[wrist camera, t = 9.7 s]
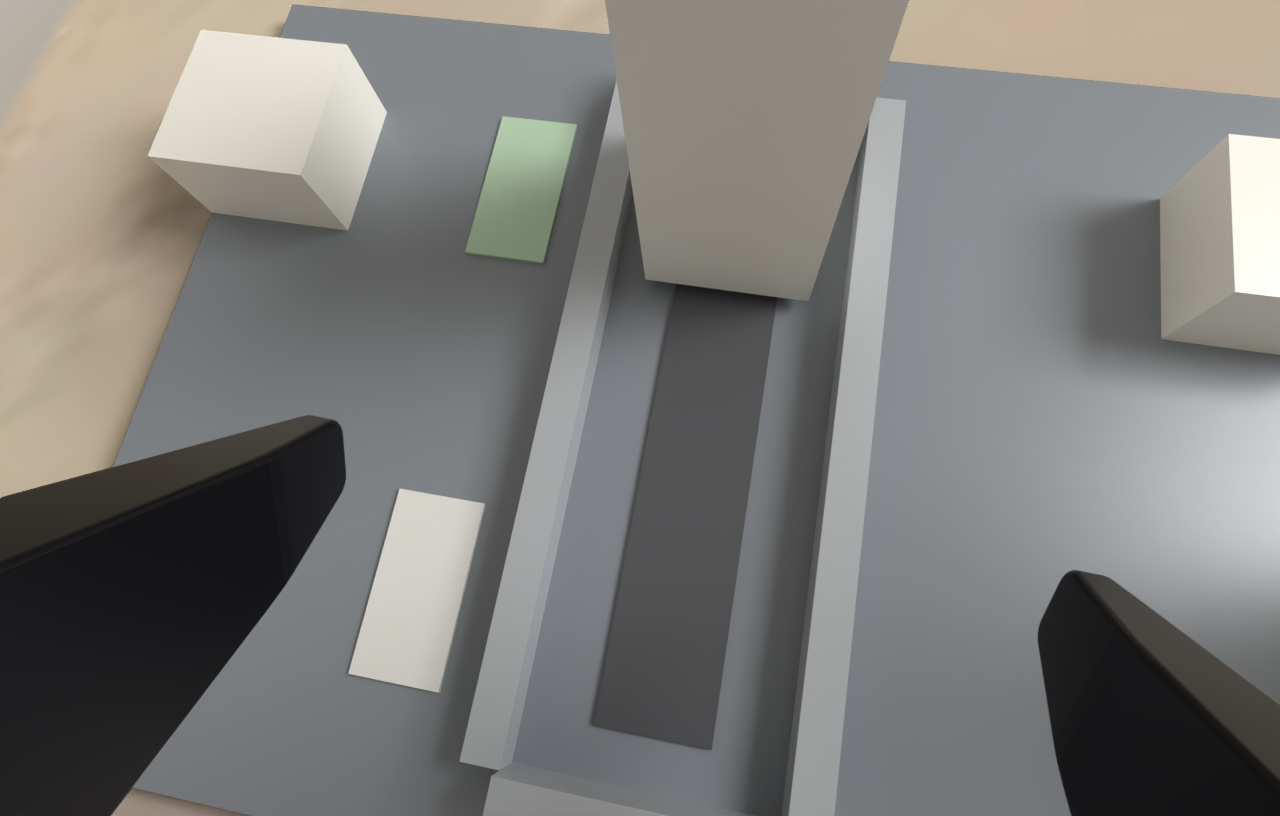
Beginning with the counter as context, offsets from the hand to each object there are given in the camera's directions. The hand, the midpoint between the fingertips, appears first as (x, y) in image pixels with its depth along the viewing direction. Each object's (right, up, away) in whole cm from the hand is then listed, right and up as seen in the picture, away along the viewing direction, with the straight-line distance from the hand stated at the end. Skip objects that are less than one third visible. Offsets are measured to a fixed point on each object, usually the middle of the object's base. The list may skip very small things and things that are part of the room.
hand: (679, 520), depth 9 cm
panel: (+1, +1, +8) cm, 8 cm away
